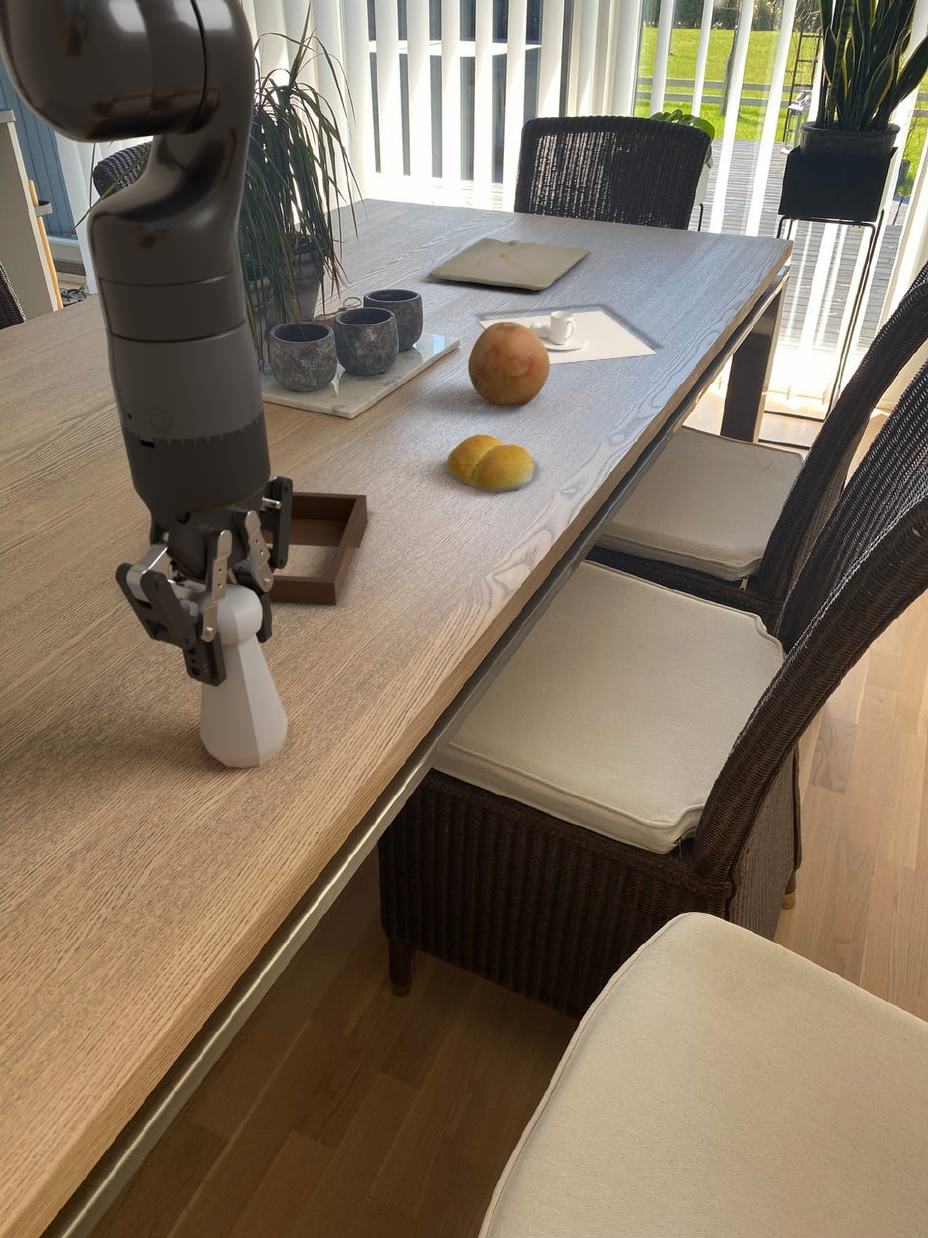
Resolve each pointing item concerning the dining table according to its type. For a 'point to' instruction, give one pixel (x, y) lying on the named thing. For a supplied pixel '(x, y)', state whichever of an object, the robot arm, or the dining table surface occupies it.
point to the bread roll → (490, 464)
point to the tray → (319, 544)
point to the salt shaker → (241, 689)
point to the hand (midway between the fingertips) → (233, 657)
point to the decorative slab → (510, 264)
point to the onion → (508, 364)
